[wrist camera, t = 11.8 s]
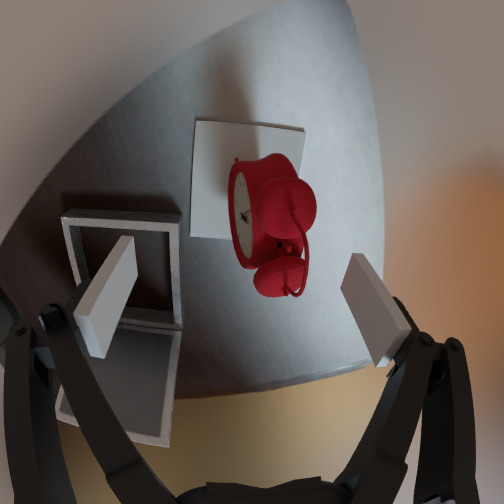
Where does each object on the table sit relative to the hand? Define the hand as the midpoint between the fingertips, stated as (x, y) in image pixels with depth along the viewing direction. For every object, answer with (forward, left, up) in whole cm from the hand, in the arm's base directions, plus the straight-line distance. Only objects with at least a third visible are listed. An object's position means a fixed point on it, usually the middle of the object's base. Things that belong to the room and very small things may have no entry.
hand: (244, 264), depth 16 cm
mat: (0, 0, -15) cm, 15 cm away
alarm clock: (+2, 0, -15) cm, 15 cm away
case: (-14, -12, -15) cm, 24 cm away
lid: (-14, -19, -12) cm, 27 cm away
